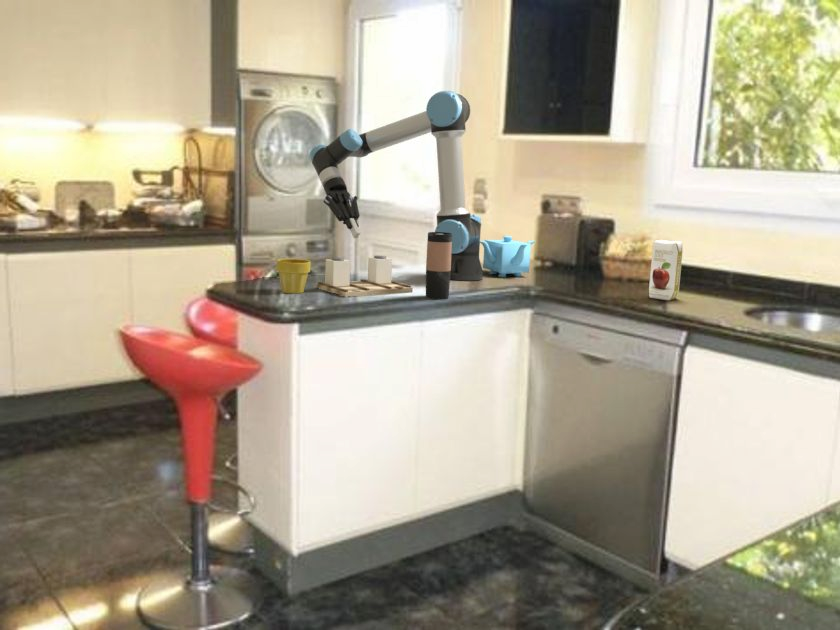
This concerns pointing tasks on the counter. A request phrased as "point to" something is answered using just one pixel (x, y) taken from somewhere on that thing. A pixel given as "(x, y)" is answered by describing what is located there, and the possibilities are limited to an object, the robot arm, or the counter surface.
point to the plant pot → (293, 274)
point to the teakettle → (506, 256)
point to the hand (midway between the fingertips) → (357, 235)
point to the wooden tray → (366, 288)
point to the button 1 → (337, 272)
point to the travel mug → (438, 265)
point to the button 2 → (379, 269)
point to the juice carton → (665, 269)
